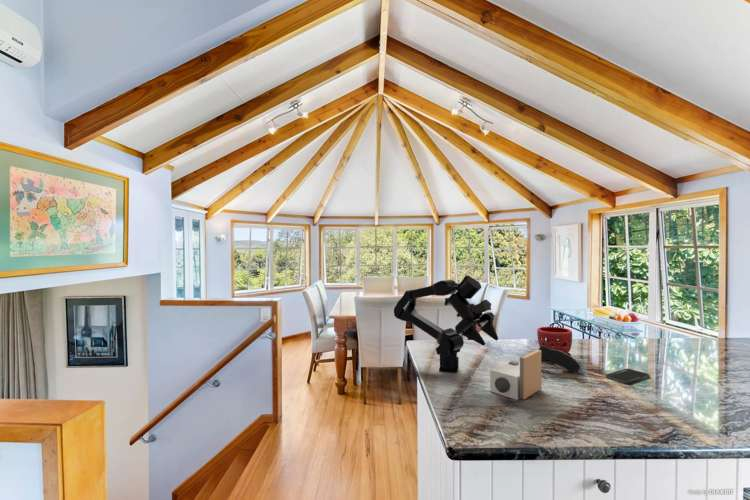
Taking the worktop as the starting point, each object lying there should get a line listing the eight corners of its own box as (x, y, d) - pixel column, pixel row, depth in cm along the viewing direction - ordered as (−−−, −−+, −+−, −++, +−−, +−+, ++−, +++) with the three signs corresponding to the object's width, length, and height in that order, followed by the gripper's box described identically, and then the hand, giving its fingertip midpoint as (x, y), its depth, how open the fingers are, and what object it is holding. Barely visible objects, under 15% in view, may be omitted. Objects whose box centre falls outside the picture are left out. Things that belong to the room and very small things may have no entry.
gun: (572, 388, 132) (586, 365, 131) (531, 365, 135) (544, 342, 134) (570, 385, 135) (583, 362, 134) (529, 363, 137) (542, 340, 136)
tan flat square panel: (519, 398, 109) (519, 357, 109) (536, 387, 118) (536, 349, 118) (523, 399, 108) (523, 358, 108) (541, 388, 117) (541, 350, 117)
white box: (488, 392, 115) (488, 368, 115) (510, 379, 125) (510, 358, 125) (515, 401, 109) (515, 376, 108) (536, 387, 119) (536, 364, 119)
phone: (604, 375, 127) (627, 368, 134) (604, 378, 127) (627, 371, 134) (628, 382, 120) (651, 374, 127) (628, 386, 120) (651, 377, 128)
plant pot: (573, 355, 152) (573, 327, 152) (570, 364, 141) (570, 334, 141) (539, 351, 159) (539, 324, 159) (535, 359, 148) (534, 330, 148)
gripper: (461, 295, 121) (492, 333, 113) (489, 290, 134) (519, 323, 126) (443, 316, 127) (471, 353, 119) (471, 309, 140) (498, 342, 132)
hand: (491, 342), depth 124 cm, fingers open, 9 cm apart
